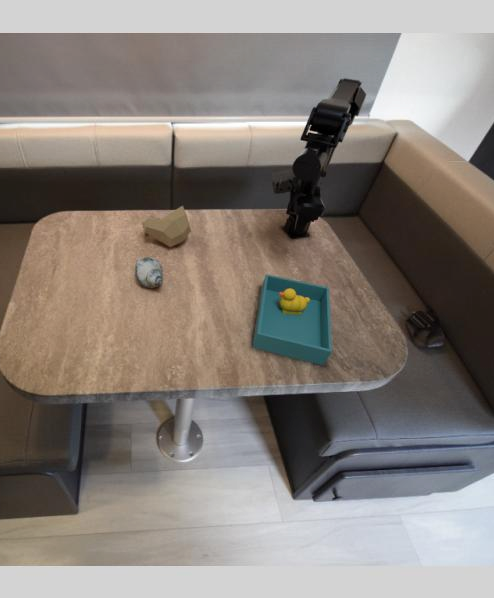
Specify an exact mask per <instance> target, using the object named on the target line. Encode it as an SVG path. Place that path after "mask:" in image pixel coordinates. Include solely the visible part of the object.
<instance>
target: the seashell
mask: <svg viewBox="0 0 494 598" xmlns="http://www.w3.org/2000/svg"><path fill="white" fill-rule="evenodd" d="M135 278H136V280H137V282H138V283H139V284H140V285H141V286H142V287H143V288H147V289H154V288H156V287H158V286H161V285H162V284H163V266H162V265H161V263H160V262H159V260H158V259H156V258H155V257H152V256H145V257H143V258H137V259H136V261H135Z"/></svg>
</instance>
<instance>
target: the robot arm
mask: <svg viewBox="0 0 494 598" xmlns="http://www.w3.org/2000/svg"><path fill="white" fill-rule="evenodd" d="M362 84H363V81H361V80H360V79H352V78H347V77H343V78H340V79H339V81H338V83H337V85H336V86H334V87H333V88H332V89H331V91H330V93H329V95H328V98H324V99H321V100H320V101H319V102H318V103H317V105H316V106H313V107H312V109H311V112H310V114H309V116H308V119H307V121H306V124H305V126H304V129H303V131H302V134H301V135H300V139H299V140H300V141H303V142H306V144H305V146H304V147H303V149H302V150H301V152H300V153H299V155H298V156H297V157H296V158H295V160H294V161H293V164H292V168H290V169H286V170H282V171H278V172H277V171H276V172H274V173H272V174H271V177H270V178H271V186H272V189H273V194H276V195H279V194H286V193H289V201H288V204H287V208H286V212H285V214H286V215H288V217H287V218H286V219H285V223H284V225H282V226H281V228H282V230H283V231H284V232H285V234H286V235H287V236H288V237H289V238H290V239H292V240H293V239H301V238H306V237H307V238H308V237H310V236H311V233H310V232H308V231H309V229H310V226H311V224H312V223H315V221H318V220H319V217H323V216H324V214H325V212H326V206H325V203H324V201H323V200H322V192H321V185H322V182H323V180H324V178H326V176H327V173H328V172H327V170H328V168H329V166H330V164H331V161H332V159H333V156H334V153H335V151H336V149H337V148H338V146H339V144H340V143H341V144H342V143H343V141H344V139H345V136H346V134H347V132H348V130H349V127H351V126H352V125H353V123H354V120H355V118H356V117H359V115H360V113H361V111H362V108H363V106H364V104H365V101H366V97H367V93H366V92H365V90H364V89H363V88H362V86H363V85H362Z"/></svg>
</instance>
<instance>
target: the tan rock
mask: <svg viewBox="0 0 494 598" xmlns="http://www.w3.org/2000/svg"><path fill="white" fill-rule="evenodd" d="M141 224H142V228H143V233H144V238H145V239H147V238H148V237H151V238H153V239H154V240H156V241H158V242H161V243H162V244H163V245H166V246H167V247H170V248H171V247H173V246H174V247H175V245H179V244H182V243H183V242H184V240H186V238H187V237H188V236H189V235H190V233H191V232H192V228H191V225H190V222H189V218H188V215H187V212H186V210H185V208H184V205H181V206H179V207H178V208H176V209H174V210H173V211H172V212H170V213H168V214H167V215H165V216H164V217H162V218H159V217H156V216H152V215H151V216H149V217H146V219H145V220H144V221H143V222H142V223H141Z"/></svg>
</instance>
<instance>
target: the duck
mask: <svg viewBox="0 0 494 598" xmlns="http://www.w3.org/2000/svg"><path fill="white" fill-rule="evenodd" d="M279 296H282V297H281V299H280V301H279V305H280V307H281V309H282V313H286V314H296V315H301V311H303V310H305V308H306V307H307V303H309V302H310V299H309V298H308V297H306V298H304V297H303V296H300V295H296V292H295V290H293V289H291V288H289V289H286V290H285V291H284V292H279Z"/></svg>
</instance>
